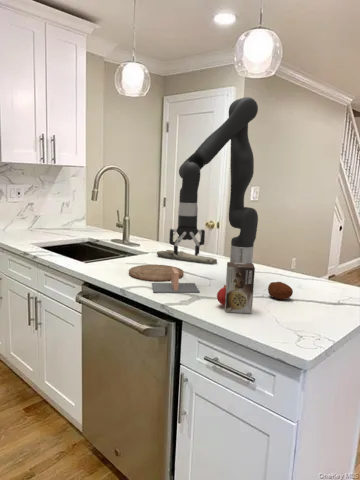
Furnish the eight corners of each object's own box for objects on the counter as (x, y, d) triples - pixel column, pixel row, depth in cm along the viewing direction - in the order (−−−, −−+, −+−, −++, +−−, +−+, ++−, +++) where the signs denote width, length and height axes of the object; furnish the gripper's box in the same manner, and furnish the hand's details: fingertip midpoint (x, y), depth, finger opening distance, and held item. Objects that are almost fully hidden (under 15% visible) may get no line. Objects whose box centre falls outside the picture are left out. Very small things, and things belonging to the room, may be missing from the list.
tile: (178, 290, 150) (179, 273, 149) (173, 290, 150) (174, 273, 148) (175, 284, 159) (175, 267, 157) (170, 284, 158) (171, 267, 157)
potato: (275, 293, 153) (277, 278, 152) (295, 300, 146) (297, 284, 145) (264, 296, 149) (265, 280, 147) (284, 303, 141) (285, 286, 140)
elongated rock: (212, 268, 197) (218, 266, 206) (213, 258, 196) (220, 256, 205) (152, 256, 211) (161, 254, 220) (153, 247, 210) (162, 245, 219)
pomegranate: (223, 302, 139) (225, 281, 138) (236, 307, 135) (238, 285, 134) (213, 306, 135) (214, 284, 134) (225, 310, 131) (227, 288, 130)
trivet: (177, 284, 161) (177, 280, 161) (121, 279, 166) (121, 275, 165) (187, 270, 185) (187, 267, 185) (138, 266, 190) (138, 262, 189)
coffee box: (249, 307, 135) (253, 262, 132) (251, 314, 129) (255, 267, 126) (223, 305, 136) (227, 261, 133) (224, 312, 129) (228, 265, 127)
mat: (194, 284, 161) (194, 282, 161) (199, 292, 150) (199, 291, 150) (151, 284, 159) (151, 282, 159) (153, 293, 147) (153, 291, 147)
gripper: (170, 214, 145) (169, 257, 148) (207, 215, 147) (205, 257, 150) (168, 212, 153) (167, 253, 156) (204, 213, 155) (202, 253, 157)
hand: (186, 255), depth 153 cm, fingers open, 7 cm apart
